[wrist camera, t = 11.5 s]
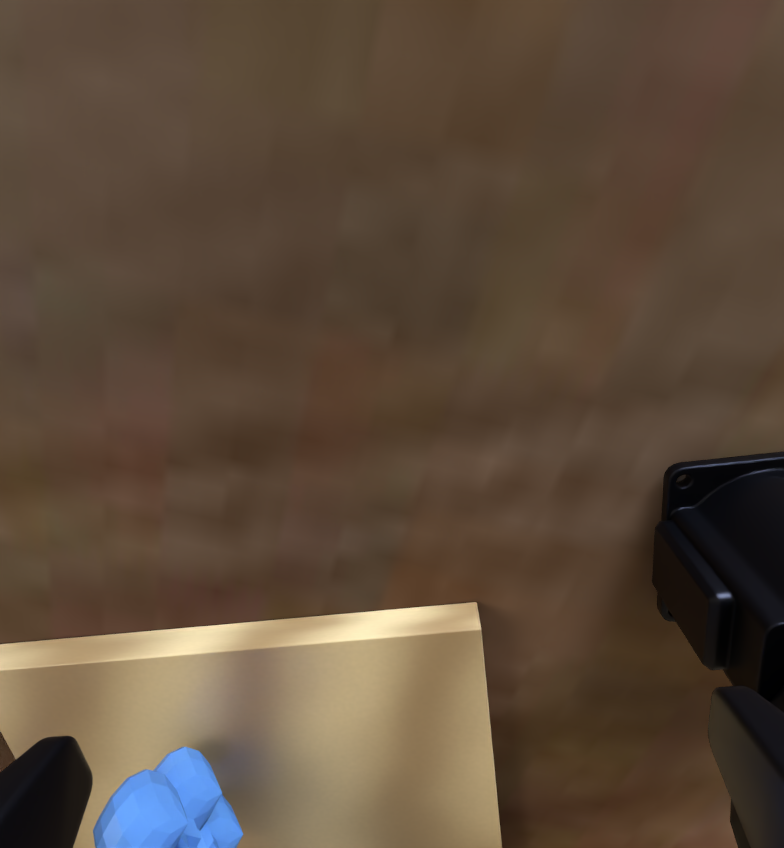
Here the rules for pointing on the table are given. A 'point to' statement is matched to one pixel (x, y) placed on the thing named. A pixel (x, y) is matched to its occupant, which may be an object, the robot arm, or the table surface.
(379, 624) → the board
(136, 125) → the table surface
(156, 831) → the grapes
